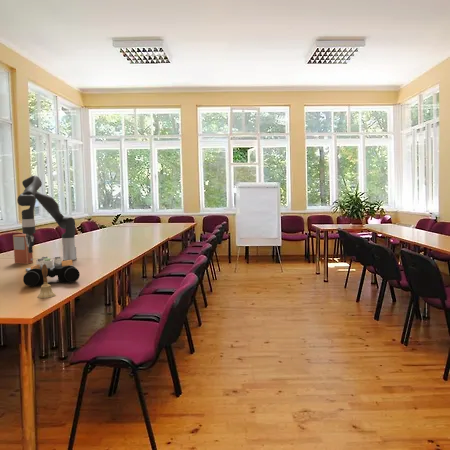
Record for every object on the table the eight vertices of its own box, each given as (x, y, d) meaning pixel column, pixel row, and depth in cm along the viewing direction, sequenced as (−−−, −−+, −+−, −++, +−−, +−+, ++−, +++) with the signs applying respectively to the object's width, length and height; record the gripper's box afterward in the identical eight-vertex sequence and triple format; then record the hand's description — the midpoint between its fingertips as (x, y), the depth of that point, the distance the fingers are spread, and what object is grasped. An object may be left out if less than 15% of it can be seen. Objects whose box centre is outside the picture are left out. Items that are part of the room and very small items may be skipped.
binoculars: (23, 289, 216) (22, 270, 216) (25, 284, 235) (24, 267, 234) (80, 283, 227) (79, 265, 227) (77, 279, 246) (76, 262, 246)
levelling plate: (62, 265, 288) (61, 254, 287) (70, 268, 275) (69, 257, 274) (25, 270, 272) (24, 258, 272) (33, 274, 259) (32, 261, 259)
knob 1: (40, 268, 270) (39, 258, 270) (46, 268, 269) (46, 258, 269) (28, 271, 258) (27, 261, 258) (35, 271, 257) (34, 261, 257)
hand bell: (33, 297, 198) (31, 265, 197) (46, 293, 206) (44, 262, 204) (46, 298, 195) (44, 266, 194) (59, 294, 203) (57, 263, 202)
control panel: (19, 261, 311) (35, 262, 306) (12, 263, 304) (27, 264, 299) (17, 234, 309) (33, 234, 304) (10, 235, 303) (26, 235, 298)
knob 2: (55, 267, 271) (55, 257, 270) (53, 266, 275) (52, 257, 274) (73, 265, 279) (72, 255, 278) (70, 264, 282) (70, 255, 282)
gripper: (37, 226, 257) (39, 253, 258) (31, 225, 267) (33, 251, 268) (25, 227, 252) (27, 254, 253) (19, 226, 262) (21, 252, 263)
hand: (30, 252), depth 261 cm, fingers closed
